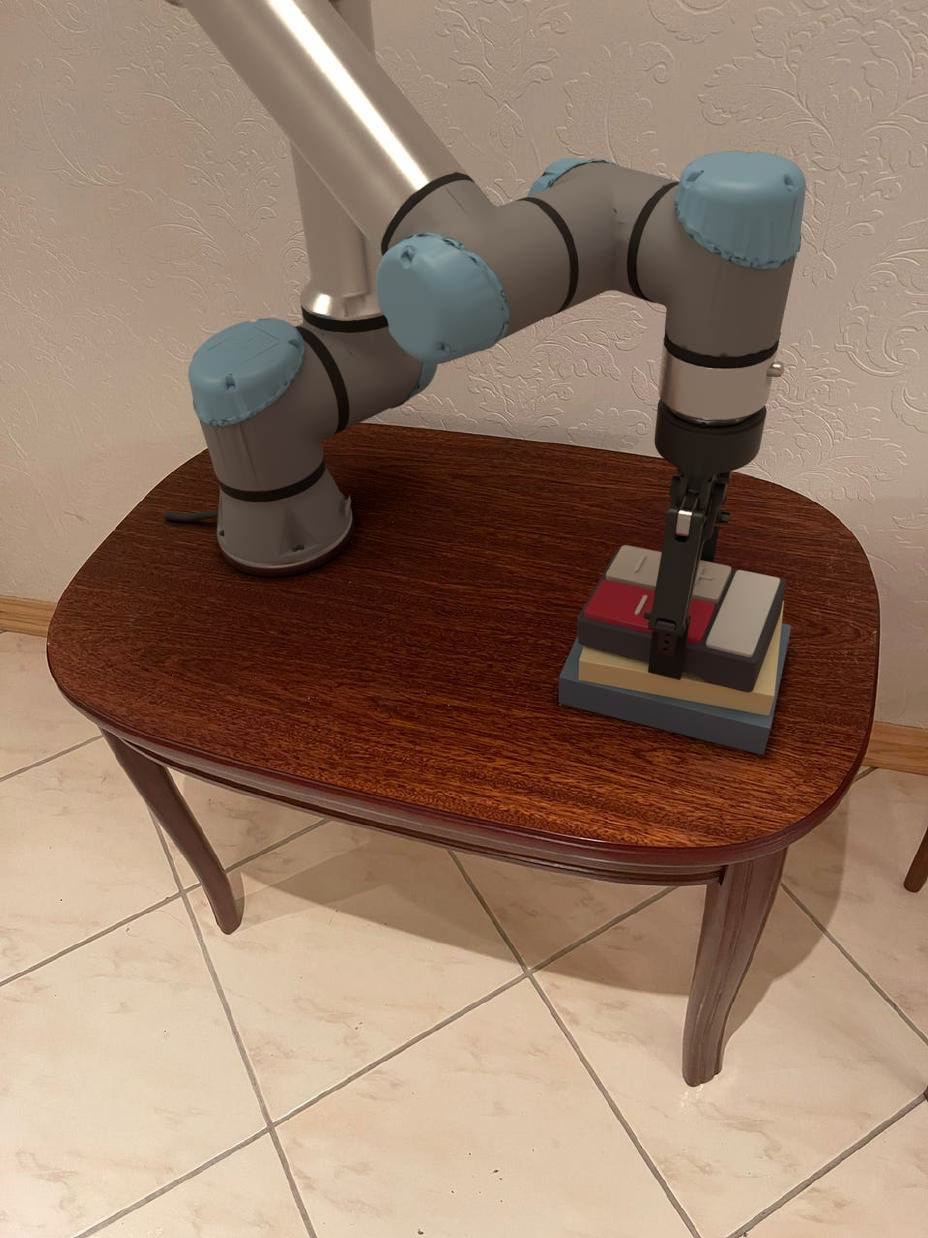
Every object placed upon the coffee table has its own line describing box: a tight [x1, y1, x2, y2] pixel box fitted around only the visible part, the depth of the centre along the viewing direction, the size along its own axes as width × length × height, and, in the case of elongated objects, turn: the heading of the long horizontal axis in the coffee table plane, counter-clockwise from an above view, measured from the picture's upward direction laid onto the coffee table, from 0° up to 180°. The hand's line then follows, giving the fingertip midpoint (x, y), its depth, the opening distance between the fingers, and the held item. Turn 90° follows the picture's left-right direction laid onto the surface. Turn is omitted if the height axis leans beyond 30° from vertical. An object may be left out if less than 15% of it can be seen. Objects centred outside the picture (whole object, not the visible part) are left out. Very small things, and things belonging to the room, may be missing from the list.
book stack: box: [558, 600, 792, 756], centre depth 80 cm, size 18×13×6 cm
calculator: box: [576, 544, 787, 693], centre depth 76 cm, size 11×4×15 cm
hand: (680, 626), depth 77 cm, fingers closed on calculator, 11 cm apart
